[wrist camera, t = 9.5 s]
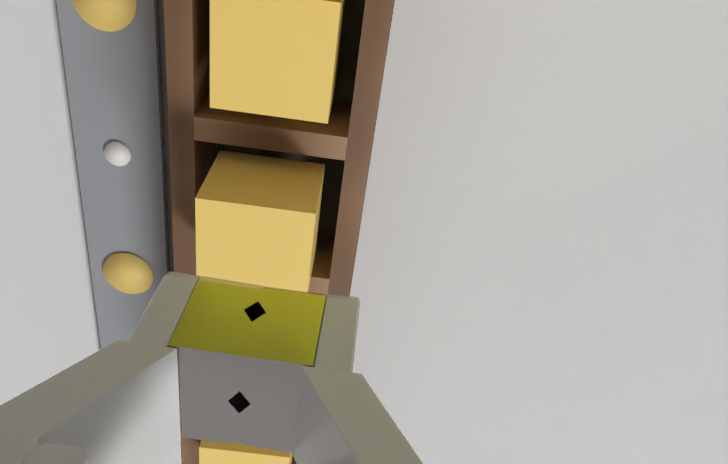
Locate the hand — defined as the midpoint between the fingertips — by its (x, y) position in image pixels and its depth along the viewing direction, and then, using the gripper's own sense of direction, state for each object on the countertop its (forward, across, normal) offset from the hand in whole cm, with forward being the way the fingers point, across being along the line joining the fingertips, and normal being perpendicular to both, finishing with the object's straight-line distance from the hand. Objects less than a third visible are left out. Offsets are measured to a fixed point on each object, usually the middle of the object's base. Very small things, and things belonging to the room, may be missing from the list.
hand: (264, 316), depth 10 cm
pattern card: (+19, +10, +11) cm, 24 cm away
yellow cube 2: (+16, +3, +8) cm, 18 cm away
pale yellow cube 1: (+18, +3, +1) cm, 19 cm away
